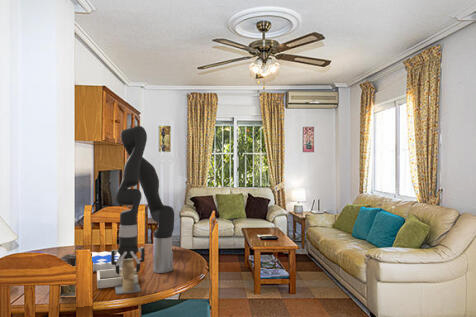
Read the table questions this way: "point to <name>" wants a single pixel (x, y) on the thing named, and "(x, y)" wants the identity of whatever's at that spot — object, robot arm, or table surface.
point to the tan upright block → (128, 275)
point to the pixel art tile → (104, 261)
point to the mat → (120, 291)
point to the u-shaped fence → (111, 281)
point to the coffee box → (68, 289)
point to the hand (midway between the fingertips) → (127, 272)
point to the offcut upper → (134, 272)
